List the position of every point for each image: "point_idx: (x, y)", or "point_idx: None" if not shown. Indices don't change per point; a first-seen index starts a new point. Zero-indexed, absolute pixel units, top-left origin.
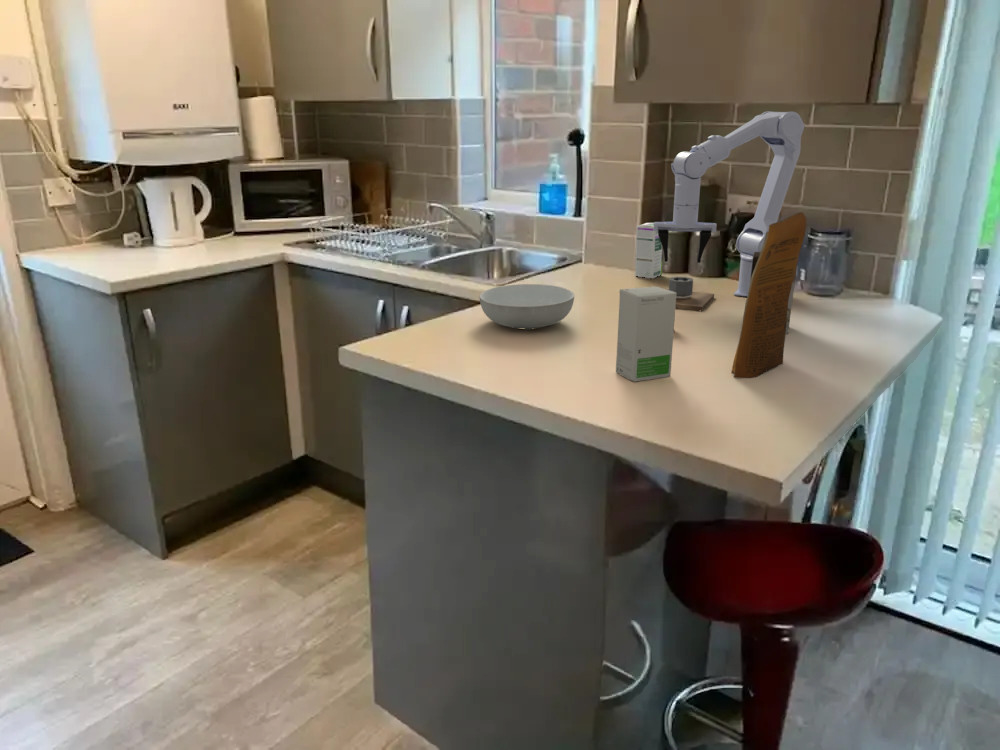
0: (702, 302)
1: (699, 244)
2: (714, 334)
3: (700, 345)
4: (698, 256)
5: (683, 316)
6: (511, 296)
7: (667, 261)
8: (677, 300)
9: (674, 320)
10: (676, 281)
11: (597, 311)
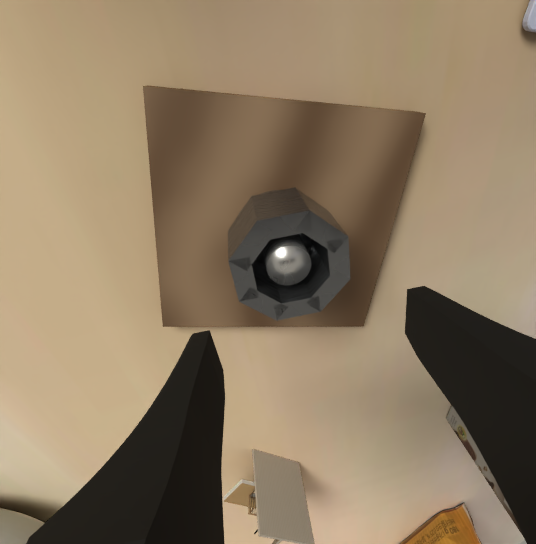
0: (366, 276)
1: (489, 425)
2: (380, 456)
3: (352, 502)
4: (429, 368)
5: (309, 379)
6: None
7: (222, 371)
8: None
9: (303, 486)
10: (276, 319)
11: (69, 419)
